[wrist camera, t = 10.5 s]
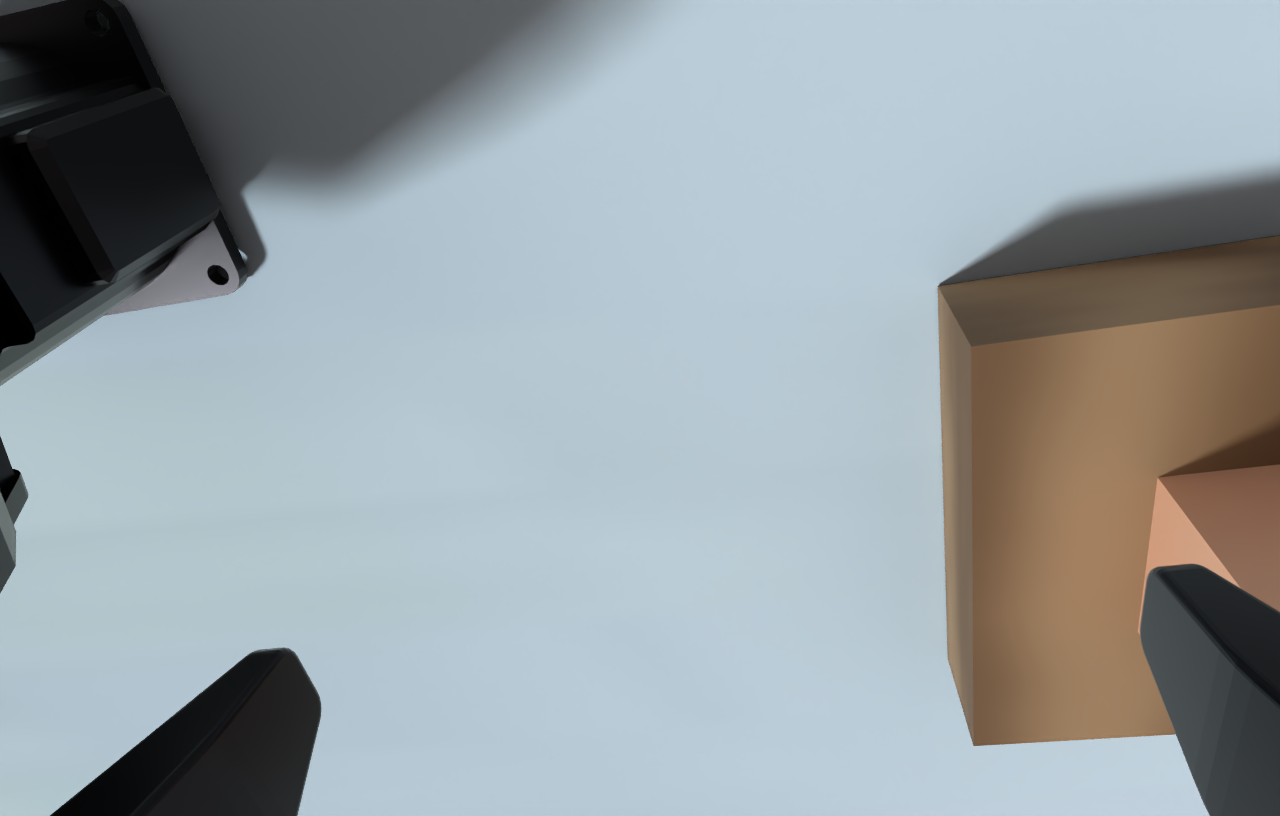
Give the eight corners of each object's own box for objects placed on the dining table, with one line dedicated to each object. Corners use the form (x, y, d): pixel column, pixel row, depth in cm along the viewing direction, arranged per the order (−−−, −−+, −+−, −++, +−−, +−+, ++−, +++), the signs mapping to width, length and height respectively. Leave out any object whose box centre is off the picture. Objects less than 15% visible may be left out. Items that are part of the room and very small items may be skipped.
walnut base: (948, 659, 25) (973, 745, 22) (937, 286, 19) (971, 346, 17) (1407, 624, 23) (1493, 715, 20) (1555, 194, 17) (1703, 247, 15)
